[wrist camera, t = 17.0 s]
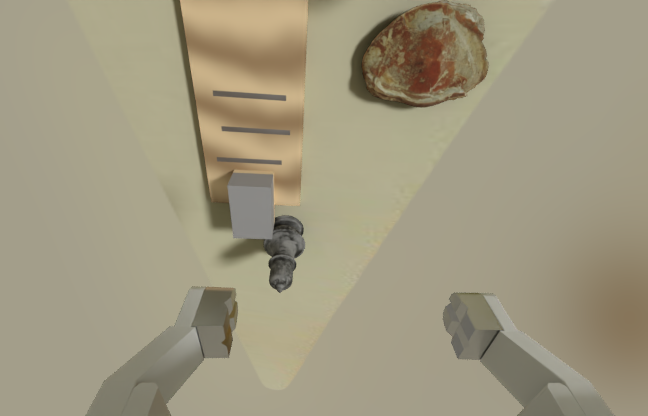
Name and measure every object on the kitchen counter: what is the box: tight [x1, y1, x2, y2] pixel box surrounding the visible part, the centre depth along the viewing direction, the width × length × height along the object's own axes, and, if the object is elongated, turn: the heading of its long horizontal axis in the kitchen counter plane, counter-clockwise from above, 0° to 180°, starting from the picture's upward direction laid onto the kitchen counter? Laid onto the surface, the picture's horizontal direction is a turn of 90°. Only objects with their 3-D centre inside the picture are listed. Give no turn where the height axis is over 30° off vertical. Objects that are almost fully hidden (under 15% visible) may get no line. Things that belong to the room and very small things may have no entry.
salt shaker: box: [264, 216, 305, 293], centre depth 42 cm, size 6×6×12 cm
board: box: [180, 0, 308, 206], centre depth 36 cm, size 25×12×1 cm, turn 176°
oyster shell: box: [362, 0, 489, 107], centre depth 33 cm, size 13×10×3 cm
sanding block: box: [227, 170, 275, 239], centre depth 40 cm, size 8×5×4 cm, turn 176°
